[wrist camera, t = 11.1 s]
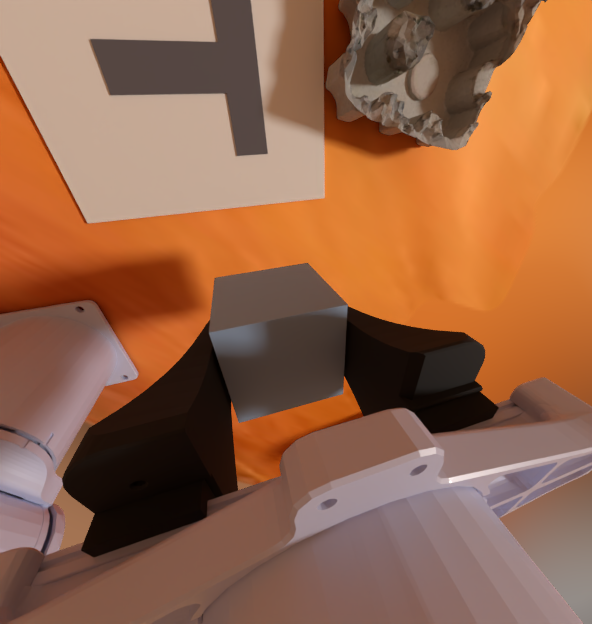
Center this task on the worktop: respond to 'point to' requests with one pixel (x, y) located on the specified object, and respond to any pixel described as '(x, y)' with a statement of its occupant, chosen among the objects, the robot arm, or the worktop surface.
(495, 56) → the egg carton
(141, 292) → the worktop surface
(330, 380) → the cube
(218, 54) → the letter mat
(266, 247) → the worktop surface
